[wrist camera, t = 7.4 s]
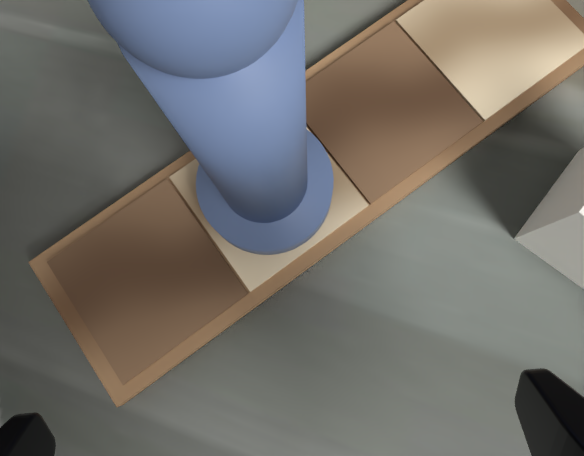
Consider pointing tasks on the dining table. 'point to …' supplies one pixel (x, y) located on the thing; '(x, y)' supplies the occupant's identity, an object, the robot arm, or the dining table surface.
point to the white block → (560, 224)
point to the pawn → (234, 109)
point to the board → (346, 172)
